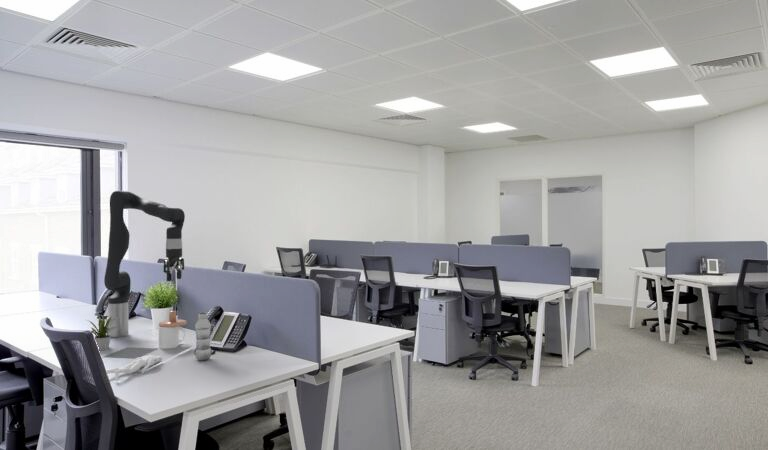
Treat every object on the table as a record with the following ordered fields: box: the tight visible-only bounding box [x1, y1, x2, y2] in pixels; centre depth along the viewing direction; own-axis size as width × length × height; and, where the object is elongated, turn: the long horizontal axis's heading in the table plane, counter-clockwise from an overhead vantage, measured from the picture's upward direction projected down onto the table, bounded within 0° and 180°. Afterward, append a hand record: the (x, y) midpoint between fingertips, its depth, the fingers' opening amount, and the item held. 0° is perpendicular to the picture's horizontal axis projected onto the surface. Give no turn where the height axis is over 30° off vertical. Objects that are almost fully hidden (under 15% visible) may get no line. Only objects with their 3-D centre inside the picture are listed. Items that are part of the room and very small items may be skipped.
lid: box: [158, 310, 187, 327], centre depth 226 cm, size 12×12×6 cm
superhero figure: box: [105, 354, 163, 381], centre depth 190 cm, size 12×6×25 cm
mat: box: [103, 346, 159, 360], centre depth 213 cm, size 16×16×1 cm
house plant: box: [86, 315, 118, 351], centre depth 221 cm, size 14×14×16 cm
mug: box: [158, 325, 186, 350], centre depth 226 cm, size 9×12×11 cm
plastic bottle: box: [194, 312, 212, 361], centre depth 205 cm, size 6×7×20 cm
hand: (174, 279), depth 239 cm, fingers open, 8 cm apart
